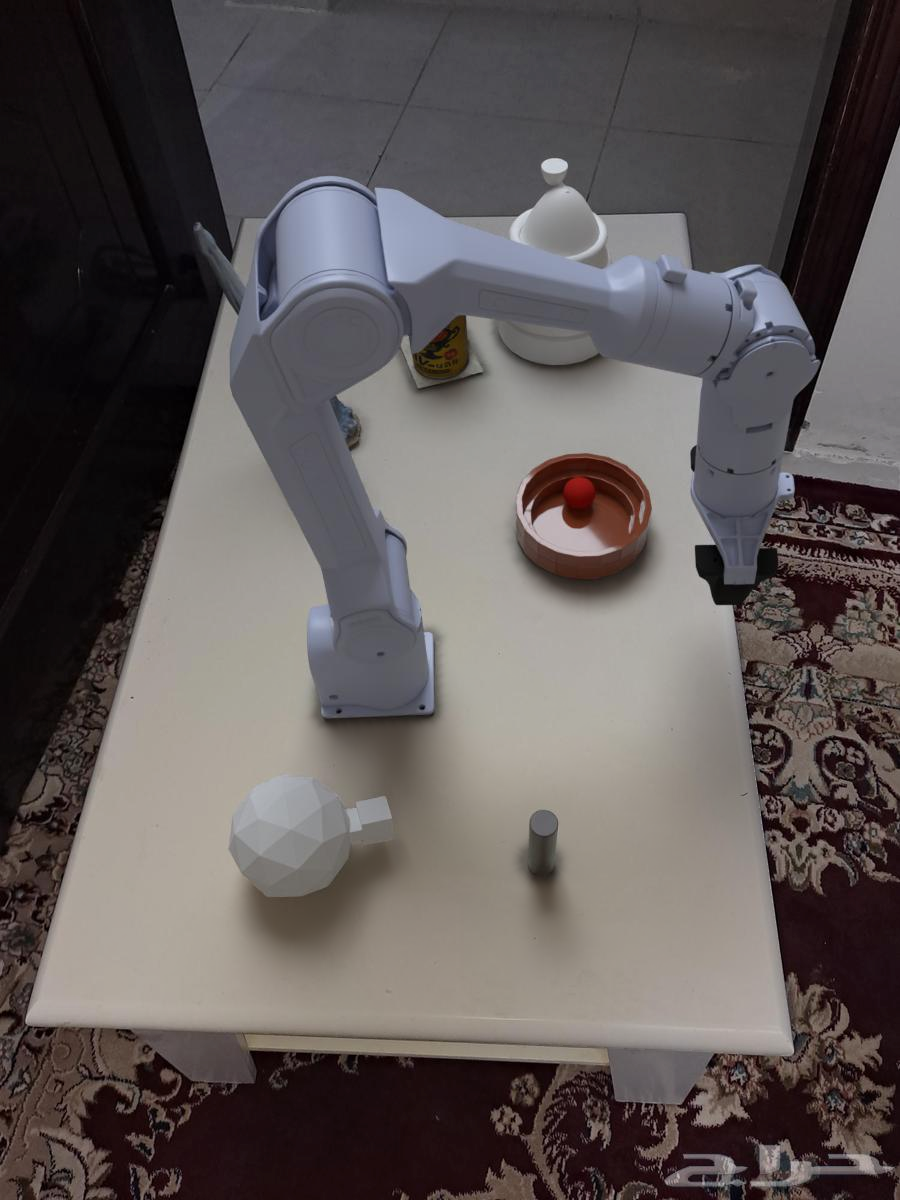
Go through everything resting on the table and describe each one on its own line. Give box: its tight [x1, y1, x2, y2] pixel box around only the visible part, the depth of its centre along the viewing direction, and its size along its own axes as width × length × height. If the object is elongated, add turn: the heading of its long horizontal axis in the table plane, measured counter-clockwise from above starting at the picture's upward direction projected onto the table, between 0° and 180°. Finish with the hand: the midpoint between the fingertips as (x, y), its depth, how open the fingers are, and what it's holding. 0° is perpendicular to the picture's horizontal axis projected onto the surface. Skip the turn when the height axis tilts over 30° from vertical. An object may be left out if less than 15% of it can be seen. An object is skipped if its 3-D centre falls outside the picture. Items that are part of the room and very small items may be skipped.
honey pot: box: [498, 157, 613, 366], centre depth 103 cm, size 13×13×18 cm
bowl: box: [515, 452, 653, 580], centre depth 92 cm, size 12×12×4 cm
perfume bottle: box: [228, 774, 394, 898], centre depth 74 cm, size 9×9×12 cm
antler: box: [193, 221, 362, 448], centre depth 92 cm, size 12×8×25 cm
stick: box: [527, 809, 559, 876], centre depth 72 cm, size 2×2×8 cm
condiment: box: [400, 315, 484, 389], centre depth 103 cm, size 7×8×12 cm
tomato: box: [563, 477, 595, 509], centre depth 93 cm, size 3×3×3 cm
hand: (725, 560), depth 78 cm, fingers open, 7 cm apart
